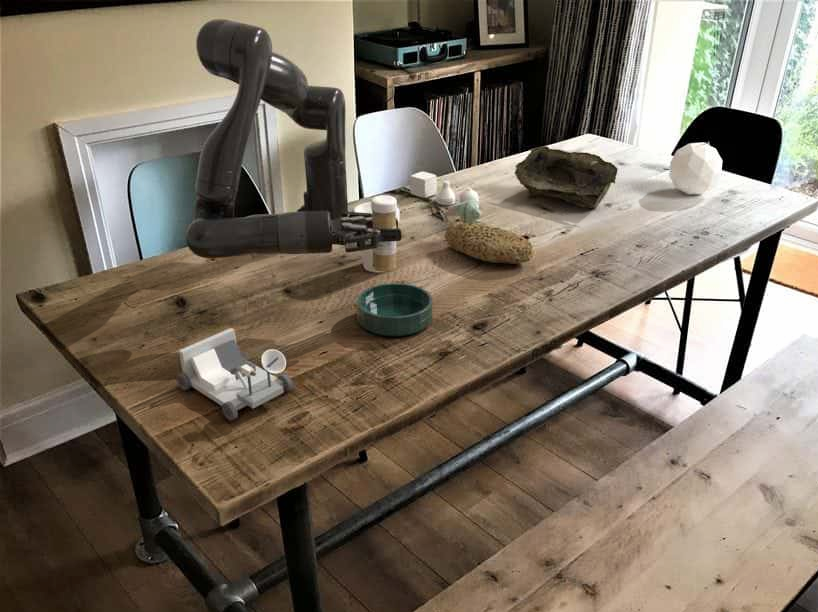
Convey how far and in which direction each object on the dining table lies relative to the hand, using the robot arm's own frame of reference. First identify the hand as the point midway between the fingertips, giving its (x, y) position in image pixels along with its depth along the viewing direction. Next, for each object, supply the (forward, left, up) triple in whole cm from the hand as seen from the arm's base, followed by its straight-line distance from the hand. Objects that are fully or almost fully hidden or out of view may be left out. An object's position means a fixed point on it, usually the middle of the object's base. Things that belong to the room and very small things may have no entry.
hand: (398, 229), depth 144 cm
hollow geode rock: (+16, +73, -18) cm, 77 cm away
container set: (-13, +61, -18) cm, 65 cm away
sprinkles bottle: (-2, -1, -8) cm, 8 cm away
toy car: (-14, -35, -18) cm, 41 cm away
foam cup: (-13, +18, -18) cm, 29 cm away
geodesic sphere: (+47, +95, -18) cm, 108 cm away
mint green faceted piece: (-2, +47, -18) cm, 51 cm away
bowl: (0, -3, -18) cm, 18 cm away
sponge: (+8, +32, -18) cm, 38 cm away
